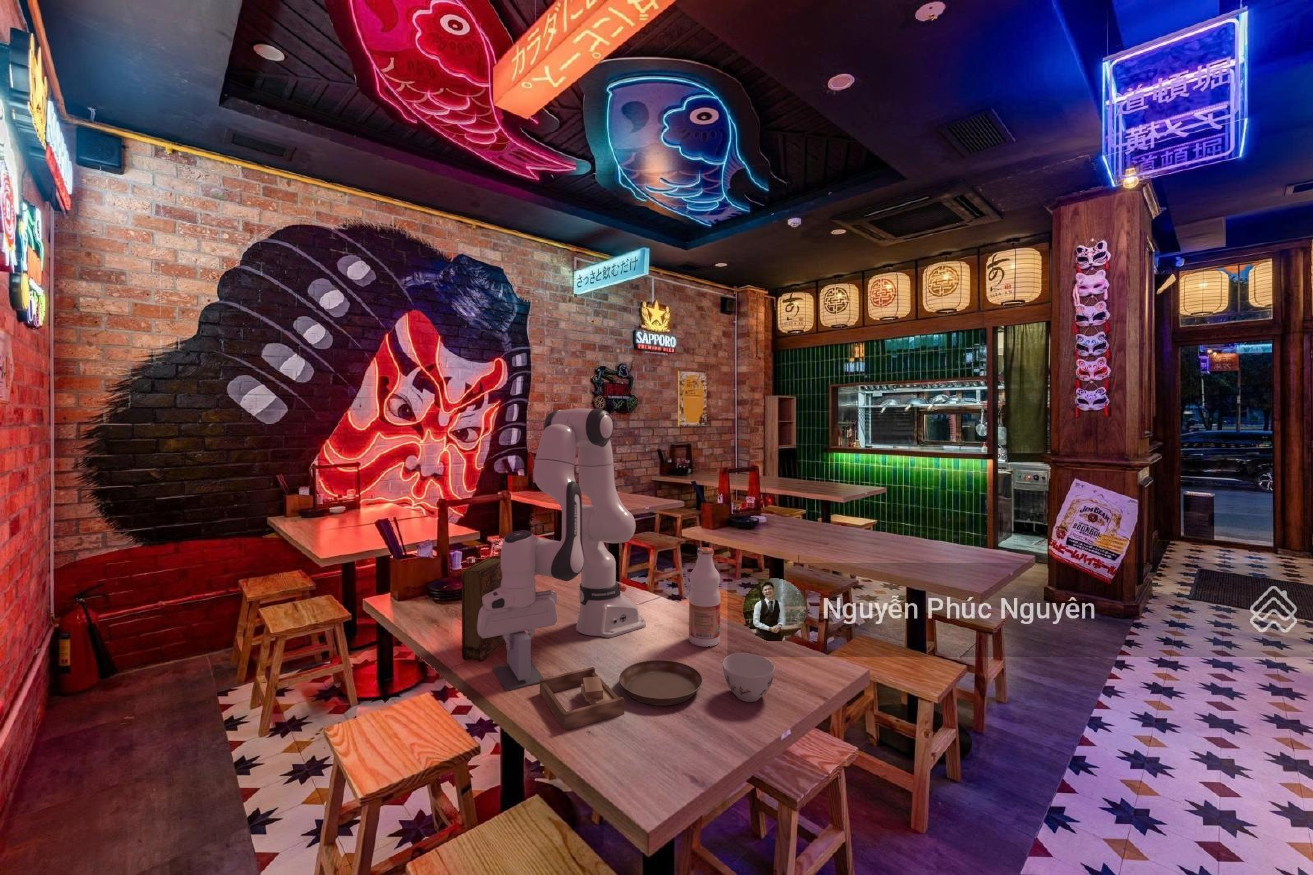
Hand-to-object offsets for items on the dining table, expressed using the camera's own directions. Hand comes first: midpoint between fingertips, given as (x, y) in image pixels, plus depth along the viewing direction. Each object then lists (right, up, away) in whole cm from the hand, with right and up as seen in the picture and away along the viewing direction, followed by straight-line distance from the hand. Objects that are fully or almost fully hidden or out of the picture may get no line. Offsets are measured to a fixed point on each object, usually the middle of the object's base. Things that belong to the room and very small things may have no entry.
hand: (518, 647), depth 140 cm
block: (0, -6, 0) cm, 6 cm away
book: (-13, -7, +16) cm, 22 cm away
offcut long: (+22, -8, -12) cm, 26 cm away
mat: (0, -7, 0) cm, 7 cm away
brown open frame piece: (+18, -8, -14) cm, 24 cm away
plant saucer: (+37, -8, -7) cm, 38 cm away
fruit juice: (+50, -7, +23) cm, 56 cm away
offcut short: (+21, -6, -12) cm, 25 cm away
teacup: (+59, -8, -9) cm, 60 cm away
